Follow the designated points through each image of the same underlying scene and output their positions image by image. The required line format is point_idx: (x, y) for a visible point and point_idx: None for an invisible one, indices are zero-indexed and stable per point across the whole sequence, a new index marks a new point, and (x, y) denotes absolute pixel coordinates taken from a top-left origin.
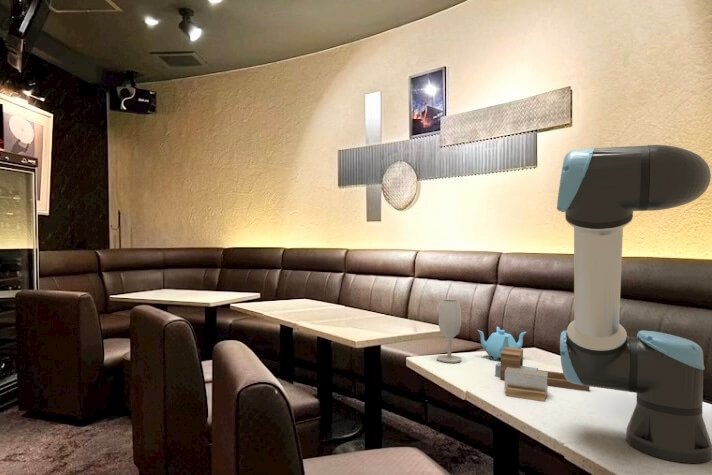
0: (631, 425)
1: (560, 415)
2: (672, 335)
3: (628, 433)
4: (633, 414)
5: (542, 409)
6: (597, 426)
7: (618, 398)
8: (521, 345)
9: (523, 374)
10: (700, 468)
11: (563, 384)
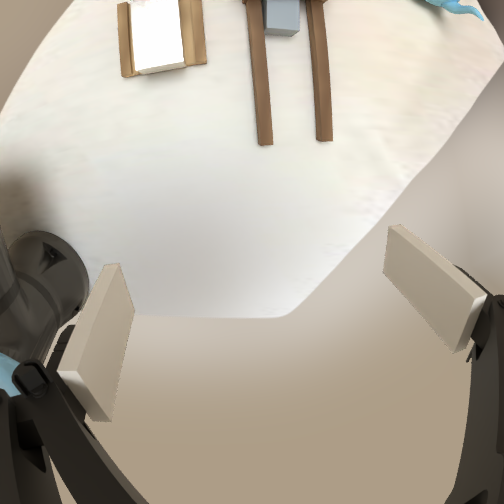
0: (13, 249)
1: (64, 125)
2: (7, 391)
3: (17, 240)
4: (14, 257)
5: (76, 89)
6: (53, 188)
7: (239, 199)
8: (451, 11)
9: (131, 21)
10: None
11: (255, 90)
